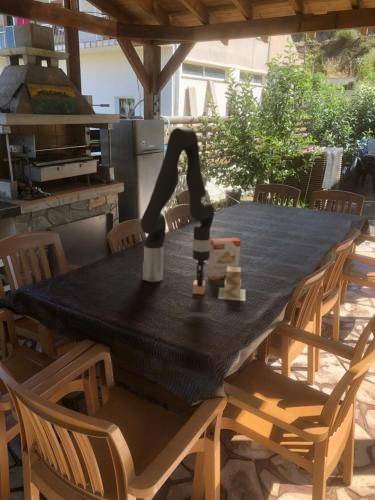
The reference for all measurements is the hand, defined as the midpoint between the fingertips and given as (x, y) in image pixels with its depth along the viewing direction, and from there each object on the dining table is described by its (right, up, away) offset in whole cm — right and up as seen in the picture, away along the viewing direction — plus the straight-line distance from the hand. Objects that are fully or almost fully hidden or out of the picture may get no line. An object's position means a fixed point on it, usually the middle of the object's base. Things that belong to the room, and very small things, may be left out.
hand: (200, 282), depth 187 cm
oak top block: (+14, 0, -2) cm, 15 cm away
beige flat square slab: (+14, -7, +1) cm, 16 cm away
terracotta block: (-1, -6, +2) cm, 6 cm away
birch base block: (+14, -5, 0) cm, 15 cm away
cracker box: (+12, 0, +20) cm, 23 cm away
